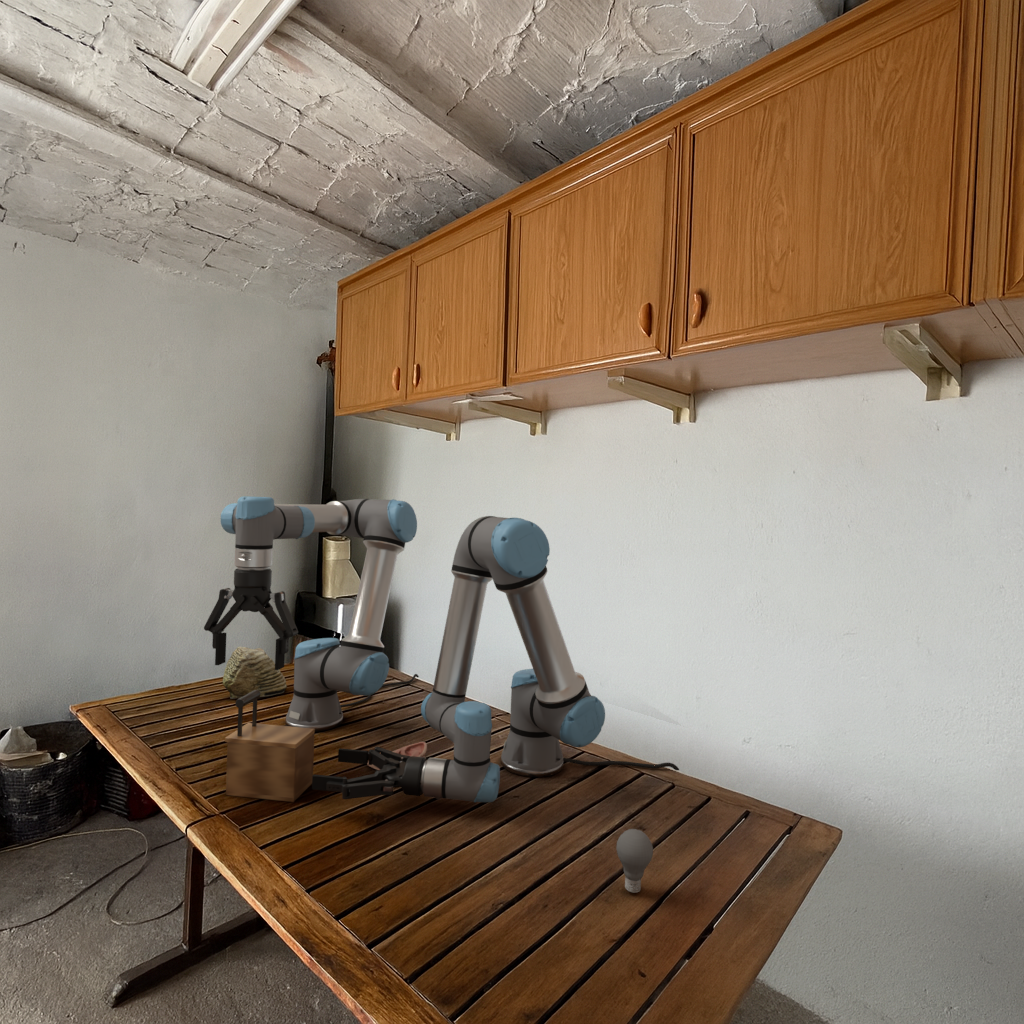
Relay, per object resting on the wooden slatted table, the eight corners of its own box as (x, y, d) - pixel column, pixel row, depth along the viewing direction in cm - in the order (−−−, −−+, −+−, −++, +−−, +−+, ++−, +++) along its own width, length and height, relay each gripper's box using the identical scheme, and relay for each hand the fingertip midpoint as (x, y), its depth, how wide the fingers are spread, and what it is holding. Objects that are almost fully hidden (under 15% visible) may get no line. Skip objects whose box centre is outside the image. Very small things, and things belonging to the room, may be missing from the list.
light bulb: (610, 879, 108) (613, 822, 108) (644, 879, 109) (647, 822, 109) (619, 902, 102) (622, 840, 102) (655, 901, 103) (658, 840, 103)
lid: (224, 742, 133) (226, 699, 132) (248, 726, 142) (249, 687, 142) (295, 748, 131) (297, 706, 131) (314, 732, 140) (316, 692, 140)
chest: (225, 794, 133) (227, 742, 133) (249, 776, 142) (250, 727, 142) (293, 802, 131) (295, 748, 131) (312, 782, 140) (314, 732, 140)
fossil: (218, 695, 195) (220, 647, 195) (278, 685, 208) (279, 640, 207) (228, 703, 189) (230, 653, 188) (289, 692, 201) (290, 645, 201)
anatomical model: (361, 752, 147) (381, 734, 159) (361, 769, 148) (381, 750, 159) (415, 759, 145) (432, 741, 156) (415, 776, 145) (431, 757, 156)
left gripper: (188, 566, 134) (185, 666, 134) (300, 573, 131) (296, 675, 131) (209, 563, 142) (206, 657, 142) (316, 569, 138) (312, 665, 139)
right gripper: (407, 825, 119) (299, 814, 121) (437, 769, 144) (347, 761, 146) (409, 785, 119) (301, 775, 121) (439, 736, 144) (348, 729, 146)
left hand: (249, 666), depth 137 cm, fingers open, 13 cm apart
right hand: (326, 767), depth 134 cm, fingers open, 13 cm apart
